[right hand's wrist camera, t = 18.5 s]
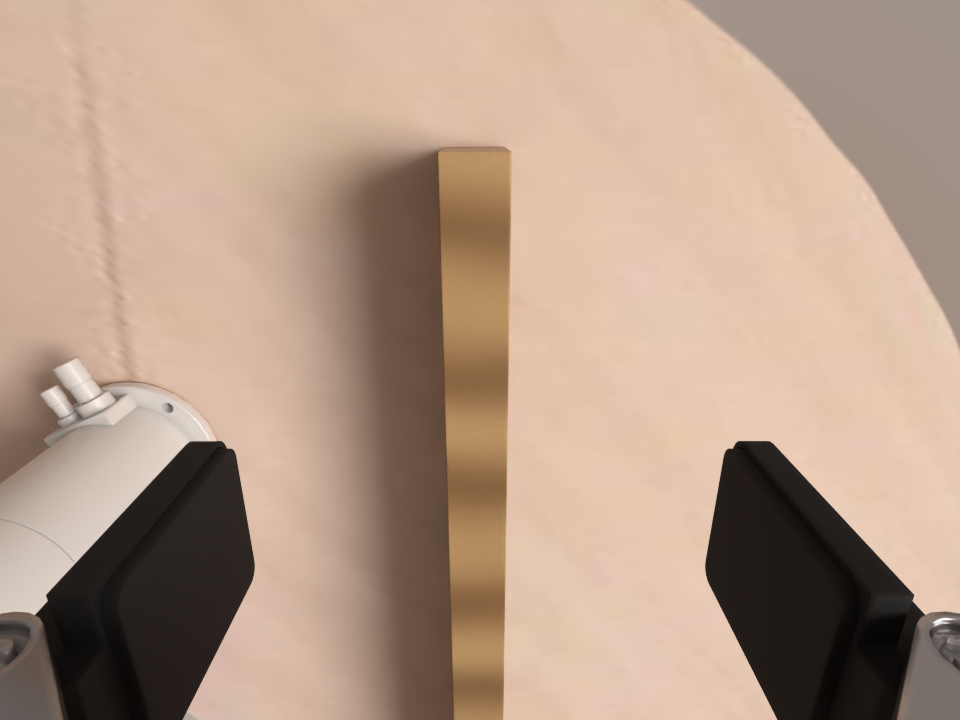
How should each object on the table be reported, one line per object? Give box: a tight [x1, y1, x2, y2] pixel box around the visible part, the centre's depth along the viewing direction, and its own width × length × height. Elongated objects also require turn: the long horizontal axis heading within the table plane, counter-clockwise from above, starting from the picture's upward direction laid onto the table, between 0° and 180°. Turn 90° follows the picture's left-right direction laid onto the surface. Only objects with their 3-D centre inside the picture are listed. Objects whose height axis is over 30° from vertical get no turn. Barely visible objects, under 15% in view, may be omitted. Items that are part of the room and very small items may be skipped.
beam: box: [438, 147, 512, 720], centre depth 49 cm, size 65×4×8 cm, turn 0°
